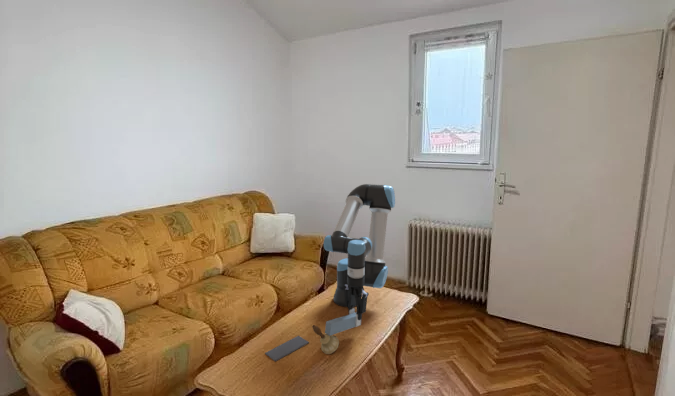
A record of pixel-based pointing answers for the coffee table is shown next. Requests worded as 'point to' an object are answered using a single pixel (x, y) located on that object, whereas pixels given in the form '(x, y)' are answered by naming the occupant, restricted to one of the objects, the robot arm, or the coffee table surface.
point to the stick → (340, 324)
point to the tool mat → (286, 348)
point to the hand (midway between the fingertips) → (354, 323)
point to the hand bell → (327, 341)
